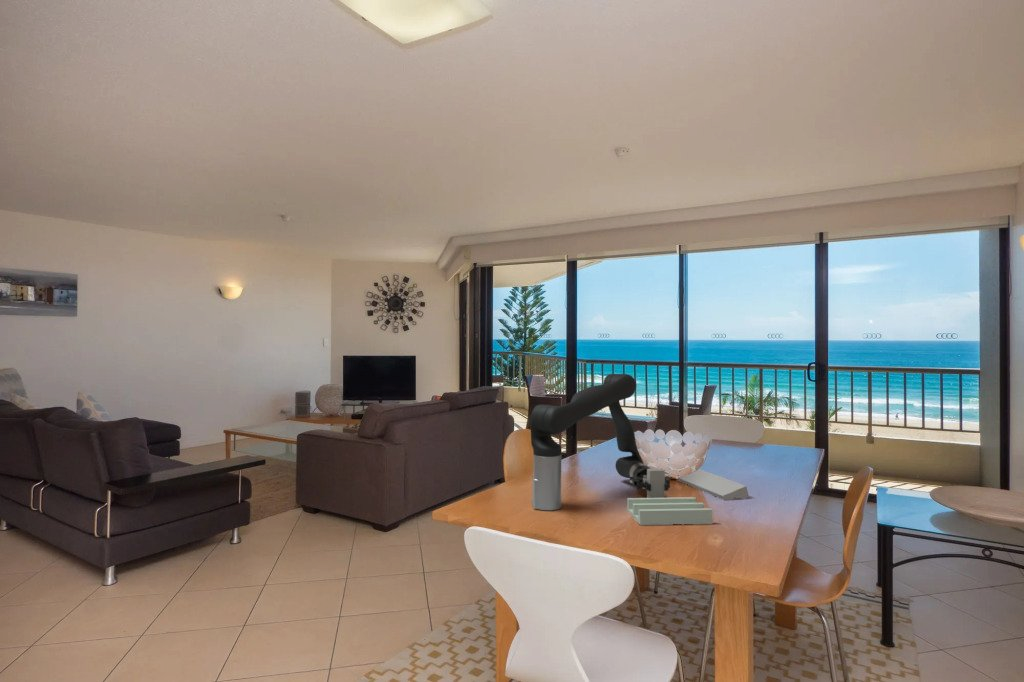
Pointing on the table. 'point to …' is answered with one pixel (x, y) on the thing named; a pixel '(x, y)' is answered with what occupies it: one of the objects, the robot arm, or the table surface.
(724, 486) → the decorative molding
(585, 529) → the table surface
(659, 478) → the grey rectangular block
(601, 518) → the table surface
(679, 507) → the pale green ridged block
